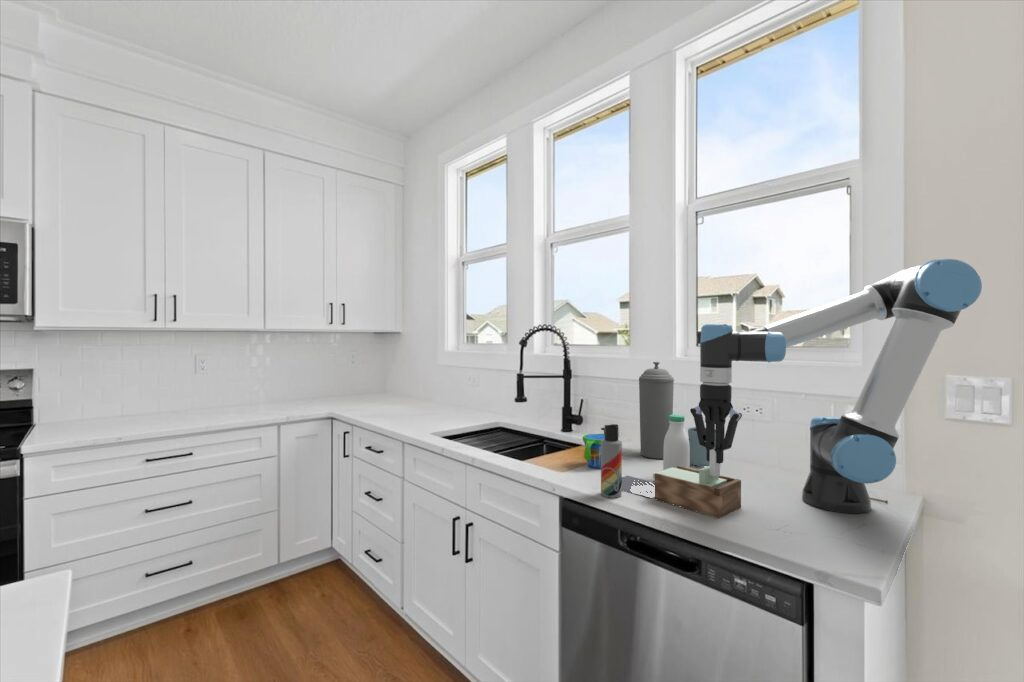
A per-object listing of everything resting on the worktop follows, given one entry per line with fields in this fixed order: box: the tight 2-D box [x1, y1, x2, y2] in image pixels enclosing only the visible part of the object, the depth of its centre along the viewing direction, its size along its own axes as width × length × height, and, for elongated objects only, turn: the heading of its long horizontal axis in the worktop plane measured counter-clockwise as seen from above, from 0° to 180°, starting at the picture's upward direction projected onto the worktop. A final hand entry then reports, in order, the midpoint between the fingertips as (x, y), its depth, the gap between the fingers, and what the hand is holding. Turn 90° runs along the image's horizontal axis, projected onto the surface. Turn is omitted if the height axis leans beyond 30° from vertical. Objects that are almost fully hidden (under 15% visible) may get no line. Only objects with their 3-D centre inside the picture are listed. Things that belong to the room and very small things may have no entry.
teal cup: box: [687, 426, 716, 467], centre depth 169 cm, size 10×10×12 cm
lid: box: [652, 466, 727, 488], centre depth 131 cm, size 16×10×5 cm, turn 41°
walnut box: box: [654, 466, 742, 519], centre depth 129 cm, size 18×12×7 cm, turn 40°
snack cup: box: [582, 433, 605, 469], centre depth 166 cm, size 16×10×10 cm
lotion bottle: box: [600, 423, 623, 499], centre depth 136 cm, size 6×6×20 cm
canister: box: [638, 361, 675, 460], centre depth 180 cm, size 13×13×35 cm
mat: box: [622, 475, 655, 499], centre depth 144 cm, size 17×13×1 cm
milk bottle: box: [662, 414, 691, 470], centre depth 150 cm, size 8×8×20 cm
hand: (714, 474), depth 125 cm, fingers closed
